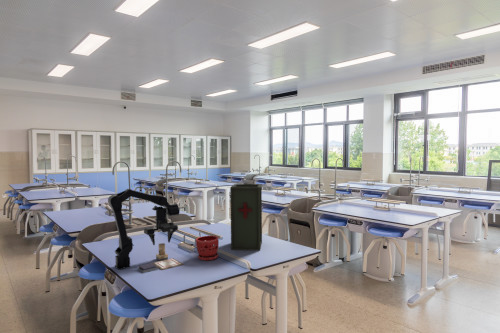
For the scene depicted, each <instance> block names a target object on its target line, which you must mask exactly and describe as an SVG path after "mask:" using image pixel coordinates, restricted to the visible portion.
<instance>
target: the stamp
mask: <svg viewBox="0 0 500 333" xmlns="http://www.w3.org/2000/svg"><path fill="white" fill-rule="evenodd" d="M155 255H156V256H155V258H156V260H157V261H158V262H159V261H163V260H167V259H169V254H168V253H166V243H164V242H163V243H158V253H156V254H155Z"/></svg>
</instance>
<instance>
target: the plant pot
mask: <svg viewBox="0 0 500 333" xmlns="http://www.w3.org/2000/svg"><path fill="white" fill-rule="evenodd" d="M219 244H220V243H219V237H218V236H216V235H204V236H203V235H202V236H199V237H197V238H196V239H195V246H196V250H197V254H198V256H197V257H198V259H200V260H201V261H213V260H216V259H217V258H218V256H219V253H218V250H219Z"/></svg>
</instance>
